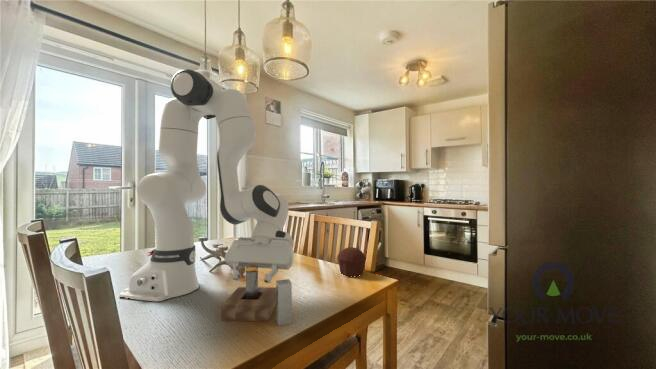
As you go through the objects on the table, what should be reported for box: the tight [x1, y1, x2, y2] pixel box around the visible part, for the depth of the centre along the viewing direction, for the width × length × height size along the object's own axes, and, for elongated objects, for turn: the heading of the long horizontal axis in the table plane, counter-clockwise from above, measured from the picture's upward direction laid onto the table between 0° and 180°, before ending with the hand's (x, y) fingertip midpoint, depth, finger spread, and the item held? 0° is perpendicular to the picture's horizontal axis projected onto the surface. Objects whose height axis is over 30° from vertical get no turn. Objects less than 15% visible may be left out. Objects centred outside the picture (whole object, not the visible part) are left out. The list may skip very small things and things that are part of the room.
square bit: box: [275, 278, 293, 327], centre depth 68 cm, size 3×3×10 cm
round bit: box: [245, 265, 259, 299], centre depth 74 cm, size 3×3×12 cm
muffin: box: [336, 246, 367, 278], centre depth 104 cm, size 12×11×10 cm
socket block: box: [221, 286, 276, 322], centre depth 74 cm, size 12×12×4 cm
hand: (250, 280), depth 73 cm, fingers open, 8 cm apart
